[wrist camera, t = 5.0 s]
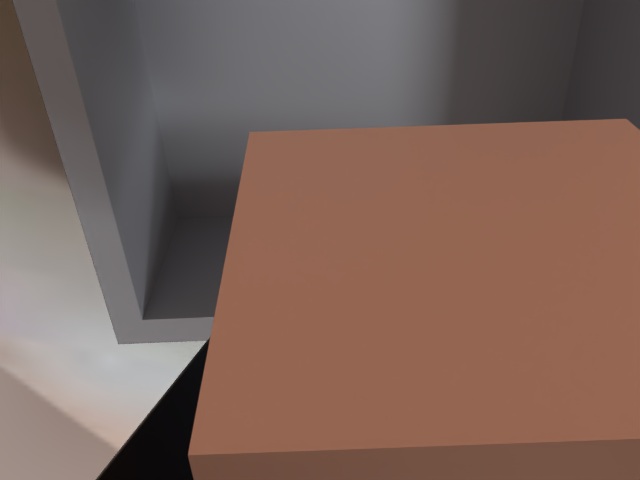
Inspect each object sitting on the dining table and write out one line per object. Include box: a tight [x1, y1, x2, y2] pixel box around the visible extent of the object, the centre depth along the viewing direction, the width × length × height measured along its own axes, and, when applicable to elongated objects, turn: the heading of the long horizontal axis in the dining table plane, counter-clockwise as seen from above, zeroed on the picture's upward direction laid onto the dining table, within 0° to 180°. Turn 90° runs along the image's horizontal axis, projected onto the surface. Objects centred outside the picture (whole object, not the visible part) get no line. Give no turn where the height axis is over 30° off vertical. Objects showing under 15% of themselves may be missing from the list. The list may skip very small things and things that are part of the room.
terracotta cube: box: [188, 119, 640, 480], centre depth 7 cm, size 5×5×5 cm
